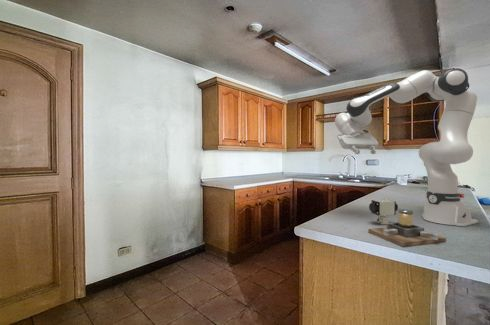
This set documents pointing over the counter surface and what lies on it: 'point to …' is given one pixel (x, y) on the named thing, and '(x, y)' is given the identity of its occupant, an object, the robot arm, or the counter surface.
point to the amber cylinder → (405, 218)
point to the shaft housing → (406, 235)
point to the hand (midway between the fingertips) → (366, 153)
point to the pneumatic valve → (383, 209)
